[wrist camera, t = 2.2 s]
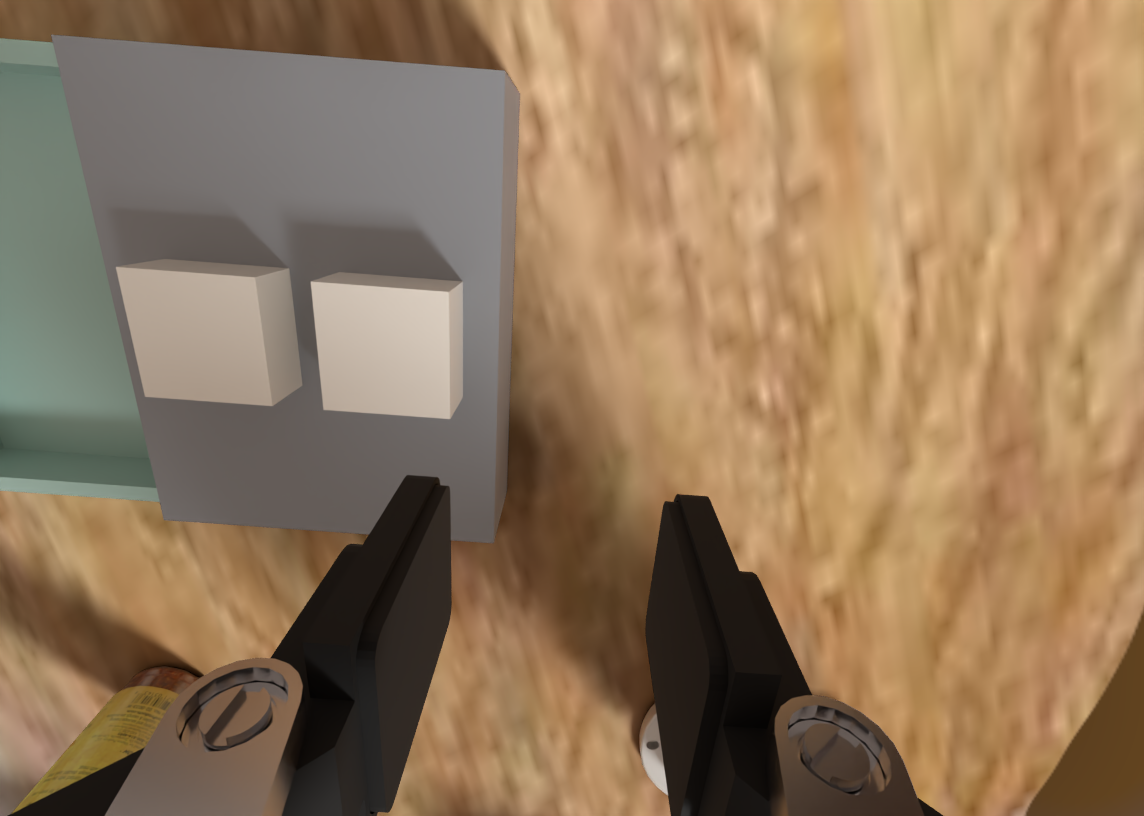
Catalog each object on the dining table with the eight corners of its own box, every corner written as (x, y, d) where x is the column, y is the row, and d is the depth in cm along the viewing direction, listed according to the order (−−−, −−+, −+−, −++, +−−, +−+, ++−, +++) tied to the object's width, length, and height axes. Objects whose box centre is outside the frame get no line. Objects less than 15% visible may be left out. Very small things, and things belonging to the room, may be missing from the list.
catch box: (153, 65, 24) (86, 45, 21) (225, 471, 31) (184, 503, 28) (-136, 41, 24) (-250, 18, 21) (4, 455, 31) (-63, 486, 28)
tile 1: (289, 268, 22) (254, 277, 20) (302, 385, 24) (272, 406, 22) (164, 258, 22) (115, 266, 20) (187, 376, 24) (145, 396, 22)
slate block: (520, 93, 24) (505, 70, 20) (506, 491, 32) (493, 543, 27) (153, 65, 24) (51, 34, 19) (225, 471, 31) (164, 519, 27)
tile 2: (463, 281, 22) (449, 291, 20) (463, 397, 24) (450, 418, 22) (338, 272, 22) (310, 281, 20) (348, 388, 24) (323, 410, 22)
